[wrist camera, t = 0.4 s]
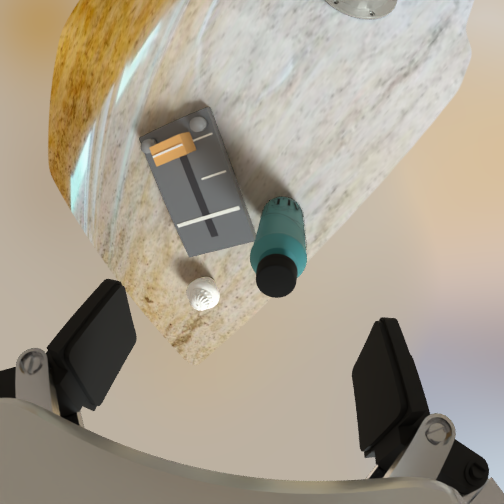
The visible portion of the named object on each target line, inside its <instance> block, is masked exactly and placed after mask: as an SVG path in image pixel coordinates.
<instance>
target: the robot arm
mask: <svg viewBox="0 0 504 504" xmlns="http://www.w3.org/2000/svg"><path fill="white" fill-rule="evenodd" d="M325 1H326V2H327V3H329V4H330V5H331V6H332V7H334V8H335V9H336V10H338V11H340V12H342V13H344V14H346V15H349V16H351V17H355V18H359V19H367V20H368V19H378V18H382V17H384V16H386V15H388V14H389V13H390V12H391V11H392V10H393V9H394V8H395V6H396V3H397V0H325ZM335 3H337V4H335ZM370 14H371V15H372V16H371V15H370ZM135 343H136V332H135V329H134V325H133V321H132V317H131V313H130V309H129V304H128V300H127V295H126V291H125V287H124V286H122V284H121V282H120V281H116V280H111V279H106V280H104V281H103V282H102V283H101V284H100V286H99V287H98V288H97V289H96V290H95V291H94V292H93V293H92V294H91V296H90V297H89V298H88V299H87V300H86V301H85V302H84V304H83V305H82V306H81V307H80V308H79V309H78V310H77V311H76V313H75V314H74V315H73V316H72V317H71V318H70V320H69V321H68V322H67V323H66V324H65V326H64V327H63V328H62V329H61V330H60V332H59V333H58V334H57V336H56V337H55V338H54V339H53V340H52V342H51V343H50V344H49V345H48V347H47V349H48V351H47V353H45V352H44V351H43V350H41V349H39V348H31V349H28V350H26V351H25V352H23V353H22V354H21V355H20V356H19V358H18V360H17V362H16V367H13V368H10V369H6V370H3V371H0V504H504V493H503V492H502V490H501V489H500V488H499V486H498V485H497V484H496V483H495V481H494V480H493V478H492V477H491V478H490V479H488V475H489V468H488V464H487V463H486V460H485V459H483V458H482V457H481V456H479V455H478V454H476V453H475V452H473V451H472V450H470V449H469V448H467V447H466V446H464V445H463V444H461V443H460V442H458V441H457V440H455V435H456V433H455V427H454V424H453V423H452V421H451V420H450V419H449V418H448V417H446V416H445V415H442V414H437V413H435V414H430V412H429V409H428V405H427V401H426V398H425V394H424V391H423V388H422V385H421V381H420V378H419V375H418V372H417V369H416V366H415V363H414V360H413V358H412V356H411V355H410V353H409V350H408V347H407V344H406V342H405V339H404V336H403V334H402V331H401V328H400V326H399V323H398V321H397V319H395V318H380V320H379V321H376V322H375V323H374V325H373V327H372V329H371V332H370V334H369V336H368V339H367V341H366V343H365V345H364V347H363V349H362V351H361V353H360V355H359V357H358V360H357V362H356V363H355V365H354V368H353V371H352V380H353V387H354V395H355V402H356V411H357V420H358V431H359V442H360V449H361V451H364V455H365V458H369V457H375V459H376V466H375V467H374V468H373V470H372V471H371V472H370V474H369V475H368V476H367V477H366V479H363V480H348V481H289V480H274V479H264V478H254V477H247V476H239V475H232V474H226V473H220V472H216V471H211V470H206V469H201V468H197V467H192V466H188V465H184V464H180V463H177V462H173V461H169V460H166V459H163V458H159V457H156V456H153V455H150V454H147V453H144V452H141V451H138V450H135V449H132V448H130V447H127V446H124V445H122V444H119V443H117V442H114V441H112V440H109V439H107V438H105V437H102V436H100V435H98V434H96V433H93V432H91V431H89V430H87V429H85V428H84V424H83V420H82V416H81V412H80V410H81V408H82V406H84V407H86V408H88V409H90V410H93V411H95V409H96V407H97V406H100V405H101V403H102V402H103V400H104V398H105V396H106V394H107V393H108V391H109V389H110V387H111V385H112V383H113V382H114V380H115V378H116V376H117V374H118V373H119V371H120V369H121V367H122V365H123V364H124V362H125V360H126V359H127V356H128V355H129V353H130V352H131V350H132V348H133V346H134V345H135Z"/></svg>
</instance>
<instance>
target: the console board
mask: <svg viewBox="0 0 504 504" xmlns="http://www.w3.org/2000/svg"><path fill="white" fill-rule="evenodd" d="M186 132H190V134H191V136H192V139H193V142H194V144H195V147H196V150H195V151H193V152H191V153H189V154H186V155H184V156H181V157H179V158H176V159H174V160H171V161H169V162H167V163H164V164H162V165H160V166H157V167H156V164H155V162H154V159H153V157H152V154H151V151H150V149H149V148H150V147H152V146H154V145H156V144H158V143H160V142H162V141H165V140H167V139H169V138H171V137H174V136H176V135H178V134H181V133H186ZM139 140H140V142H141V150H142V151H143V152H144V153H145V155H146V158H147V160H148V163H149V165H150V168H151V170H152V173H153V175H154V178H155V180H156V183H157V185H158V188H159V190H160V192H161V195H162V197H163V199H164V202H165V204H166V206H167V209H168V211H169V213H170V216H171V218H172V220H173V222H174V225H175V227H176V229H177V231H178V234H179V236H180V238H181V240H182V243H183V245H184V247H185V249H186V251H187V253H188V256H189V257H193V256H197V255H201V254H205V253H209V252H213V251H217V250H221V249H225V248H229V247H233V246H237V245H241V244H245V243H249V242H254V241H255V238H256V233H255V230H254V227H253V225H252V222H251V219H250V216H249V213H248V211H247V208H246V205H245V202H244V199H243V197H242V194H241V191H240V188H239V185H238V183H237V180H236V177H235V174H234V171H233V169H232V166H231V163H230V160H229V158H228V155H227V152H226V149H225V147H224V144H223V141H222V138H221V136H220V133H219V130H218V127H217V125H216V122H215V119H214V116H213V114H212V111H211V108H208V107H206V108H204V109H201V110H199V111H196V112H194V113H192V114H189V115H187V116H185V117H182V118H180V119H178V120H175V121H173V122H171V123H169V124H167V125H165V126H162V127H160V128H158V129H156V130H154V131H152V132H150V133H148V134H146V135H144V136H142V137H140V138H139Z"/></svg>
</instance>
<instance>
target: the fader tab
mask: <svg viewBox="0 0 504 504" xmlns="http://www.w3.org/2000/svg"><path fill="white" fill-rule="evenodd" d="M149 149H150V151H151V154H152V157H153V159H154V162H155V164H156V167H157V166H160V165H162V164H164V163H167V162H169V161H171V160H174V159H176V158H179V157H181V156H184V155H186V154H189V153H191V152H193V151H195V150H196V147H195V144H194V142H193V139H192V136H191V134H190V132H186V133H181V134H178V135H176V136H174V137H171V138H169V139H167V140H165V141H162V142H160V143H158V144H156V145H154V146H152V147H150V148H149Z"/></svg>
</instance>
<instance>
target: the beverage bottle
mask: <svg viewBox="0 0 504 504" xmlns="http://www.w3.org/2000/svg"><path fill="white" fill-rule="evenodd" d="M263 208H264V209H263V210H262V211H263V212H262V216H261V217H260V218H261V220H260V223H259V228H258V231H257V235H256V238H255V242H254V245H253V247H252V250H251V253H250V262H251V266H252V268H253V270H254V271H255V273H256V283H257V286H258V288H259V289H260V291H261V292H262V293H264V294H265V295H267V296H270V297H275V298H278V297H283V296H286V295H288V294H289V293H291V292H292V291H293V289H294V287H295V285H296V279H297V278H298V277H299V276H300V275H301V274H302V272H303V271H304V268H305V266H306V263H307V254H306V246H305V240H306V239H305V238H306V237H305V236H306V235H305V233H304V232H305V231H304V227H305V225H304V223H305V222H304V223H303V215H304V214H303V213H302V210H301V209H302V208H300V206H299V205H298V203H297V202H295V201H294V200H292V199H290V198H287V197H277V198H276V197H275V198H274V199H272V200H269V202H268V203H266V205H265V206H264V207H263ZM306 245H307V242H306Z"/></svg>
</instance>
